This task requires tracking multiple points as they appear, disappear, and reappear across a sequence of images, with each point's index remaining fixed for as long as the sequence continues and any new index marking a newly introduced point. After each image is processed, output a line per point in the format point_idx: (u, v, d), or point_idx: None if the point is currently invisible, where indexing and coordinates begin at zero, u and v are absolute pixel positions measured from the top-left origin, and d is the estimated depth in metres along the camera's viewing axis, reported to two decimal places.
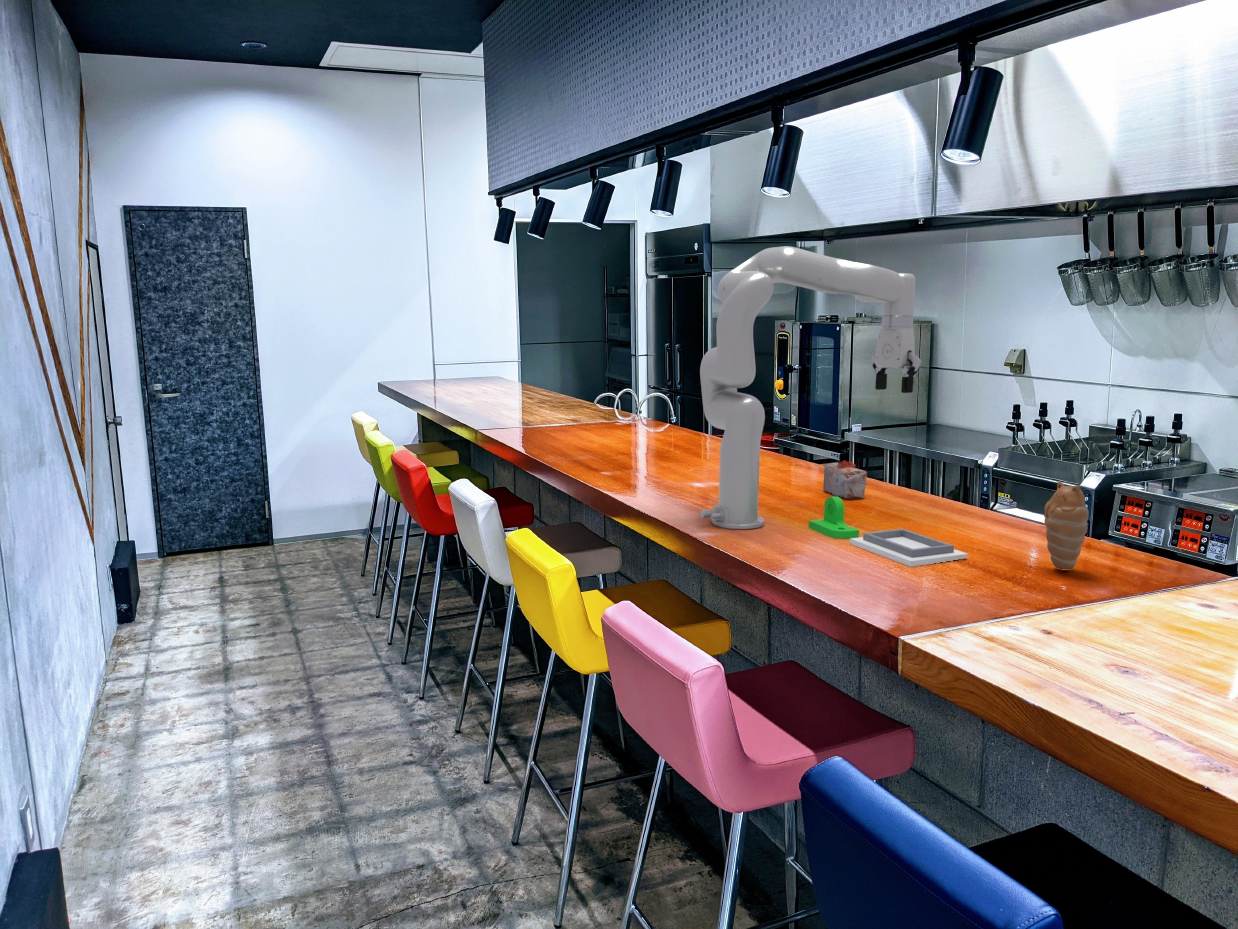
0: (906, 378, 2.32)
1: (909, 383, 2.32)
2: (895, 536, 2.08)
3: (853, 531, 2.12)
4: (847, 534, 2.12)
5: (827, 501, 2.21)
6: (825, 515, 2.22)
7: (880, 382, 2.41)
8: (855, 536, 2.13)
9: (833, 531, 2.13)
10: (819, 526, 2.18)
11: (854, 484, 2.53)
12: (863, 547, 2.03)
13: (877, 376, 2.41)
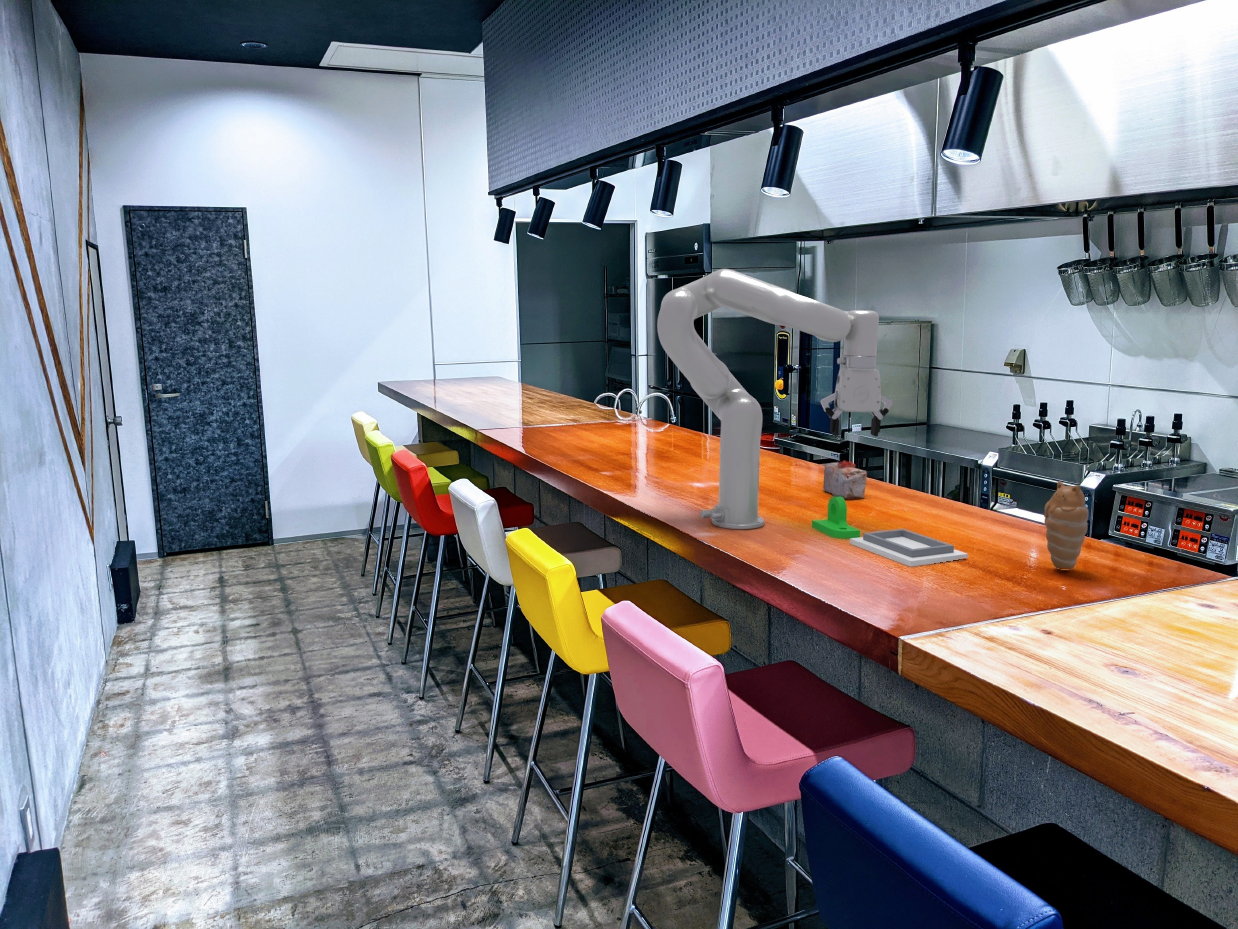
0: (878, 421, 2.21)
1: None
2: (895, 536, 2.08)
3: (854, 531, 2.12)
4: (848, 534, 2.12)
5: (830, 501, 2.21)
6: (829, 515, 2.23)
7: None
8: (856, 536, 2.13)
9: (834, 531, 2.13)
10: (821, 526, 2.18)
11: (854, 484, 2.53)
12: (863, 547, 2.03)
13: (838, 421, 2.19)
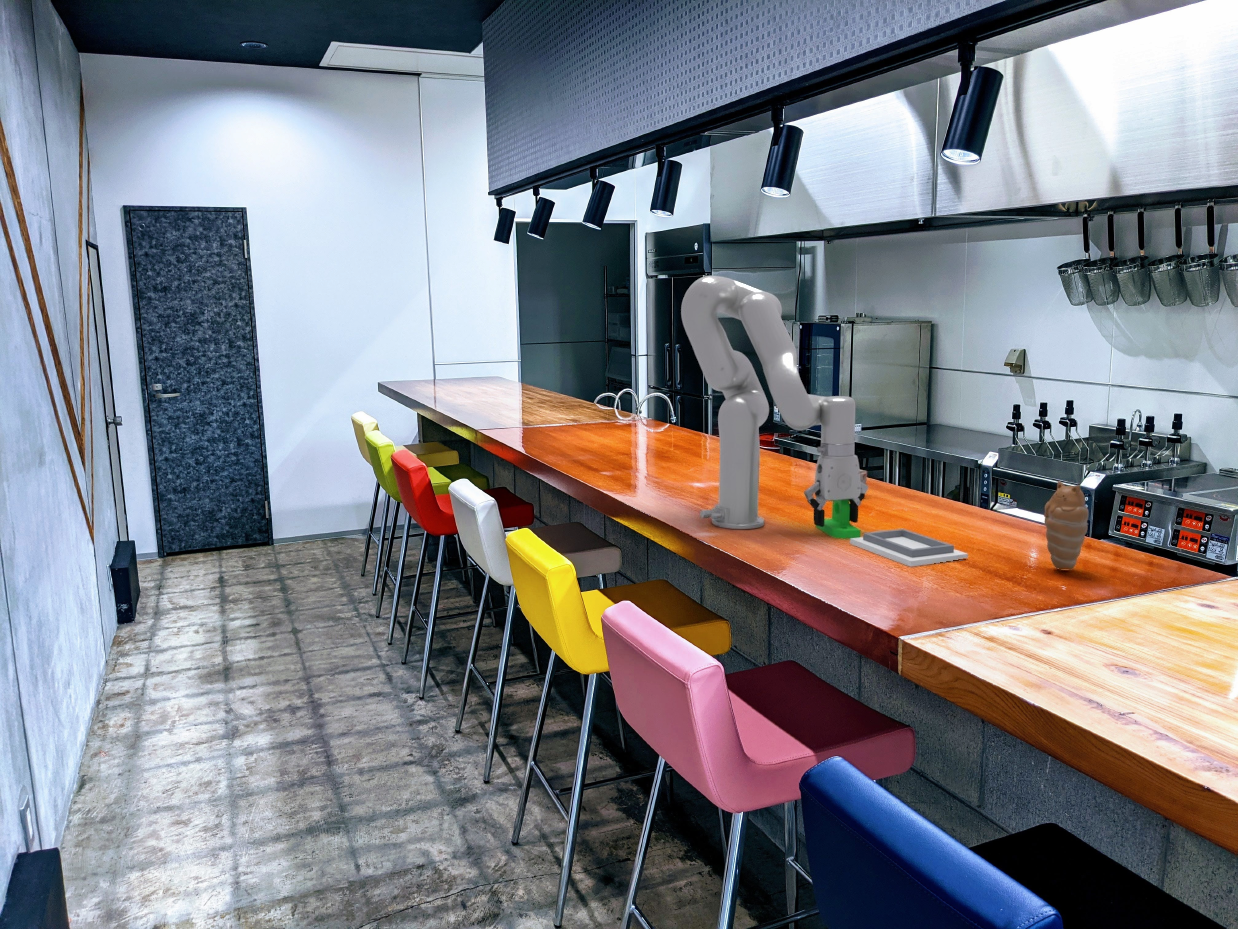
0: None
1: None
2: (895, 536, 2.08)
3: (854, 531, 2.12)
4: (848, 533, 2.12)
5: (834, 501, 2.22)
6: (833, 514, 2.23)
7: None
8: (856, 536, 2.12)
9: (834, 530, 2.13)
10: None
11: None
12: (863, 547, 2.03)
13: (823, 512, 2.13)
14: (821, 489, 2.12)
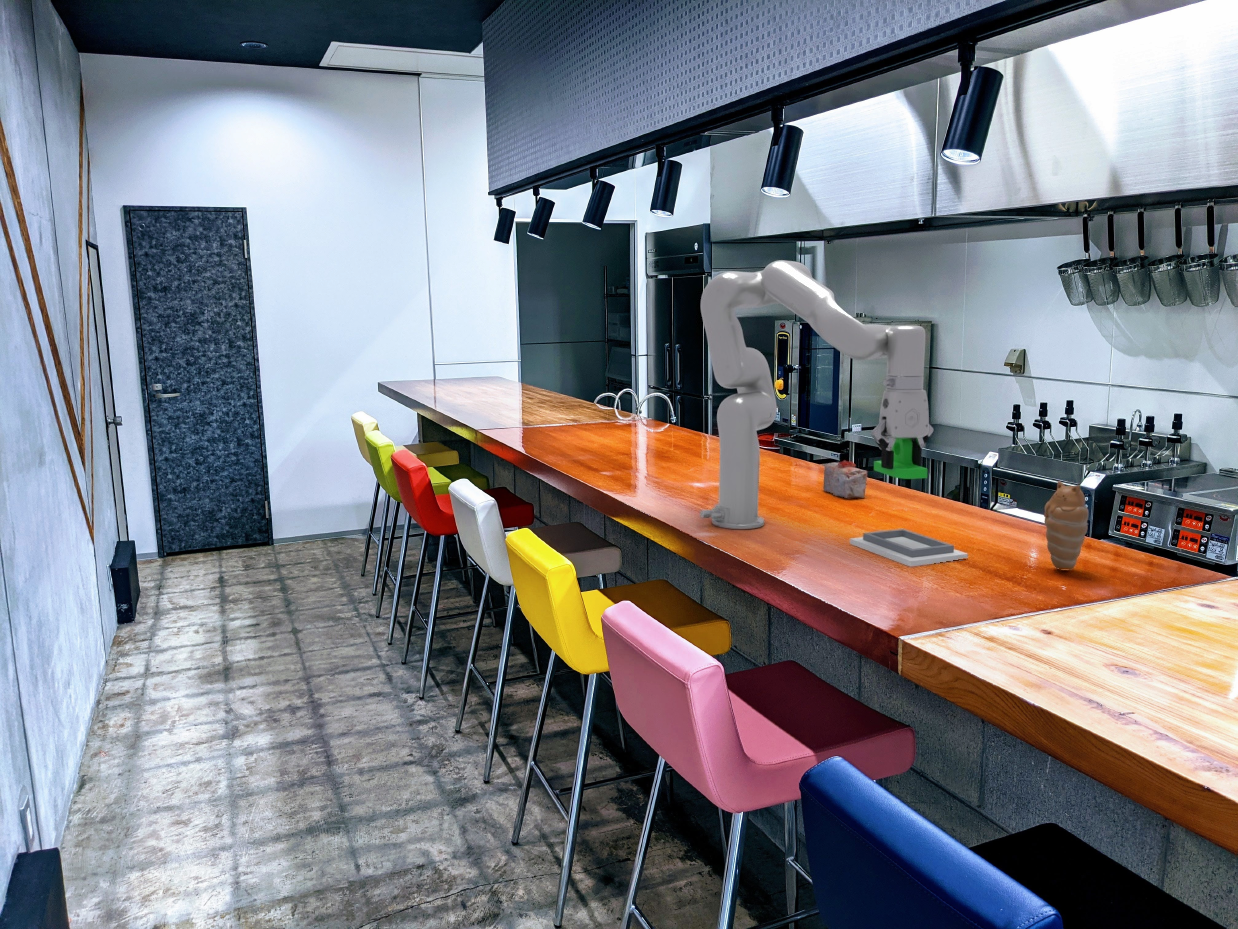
0: None
1: None
2: (895, 536, 2.08)
3: (920, 469, 1.95)
4: (914, 472, 1.95)
5: None
6: None
7: None
8: (923, 475, 1.96)
9: (898, 469, 1.96)
10: None
11: (855, 484, 2.53)
12: (863, 547, 2.03)
13: (893, 453, 1.97)
14: (887, 425, 1.96)
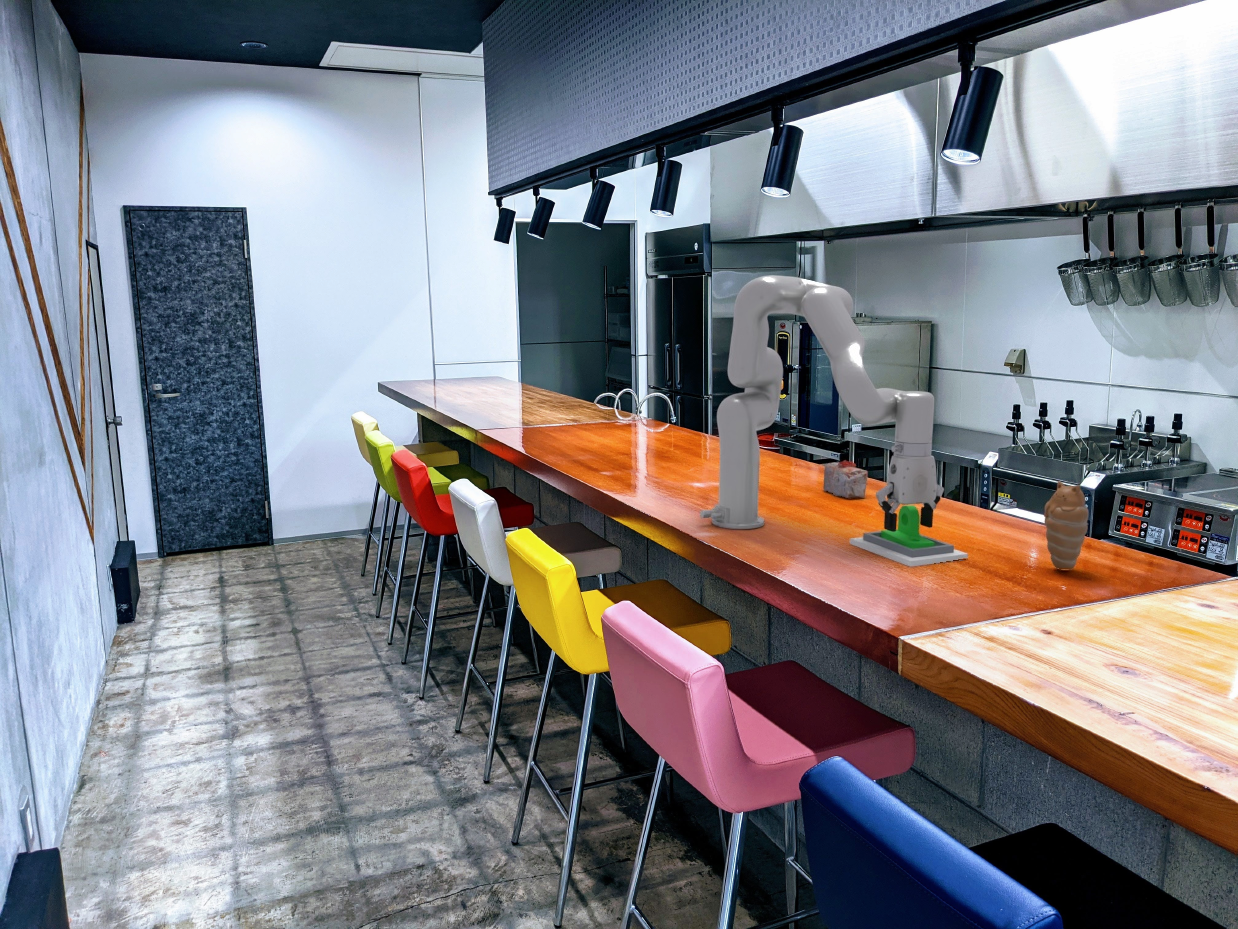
0: None
1: None
2: None
3: (928, 543, 1.96)
4: (921, 546, 1.96)
5: (901, 510, 2.05)
6: (899, 525, 2.06)
7: None
8: None
9: (905, 543, 1.97)
10: (891, 537, 2.02)
11: (855, 484, 2.54)
12: (863, 547, 2.03)
13: (896, 516, 1.97)
14: (895, 491, 1.96)
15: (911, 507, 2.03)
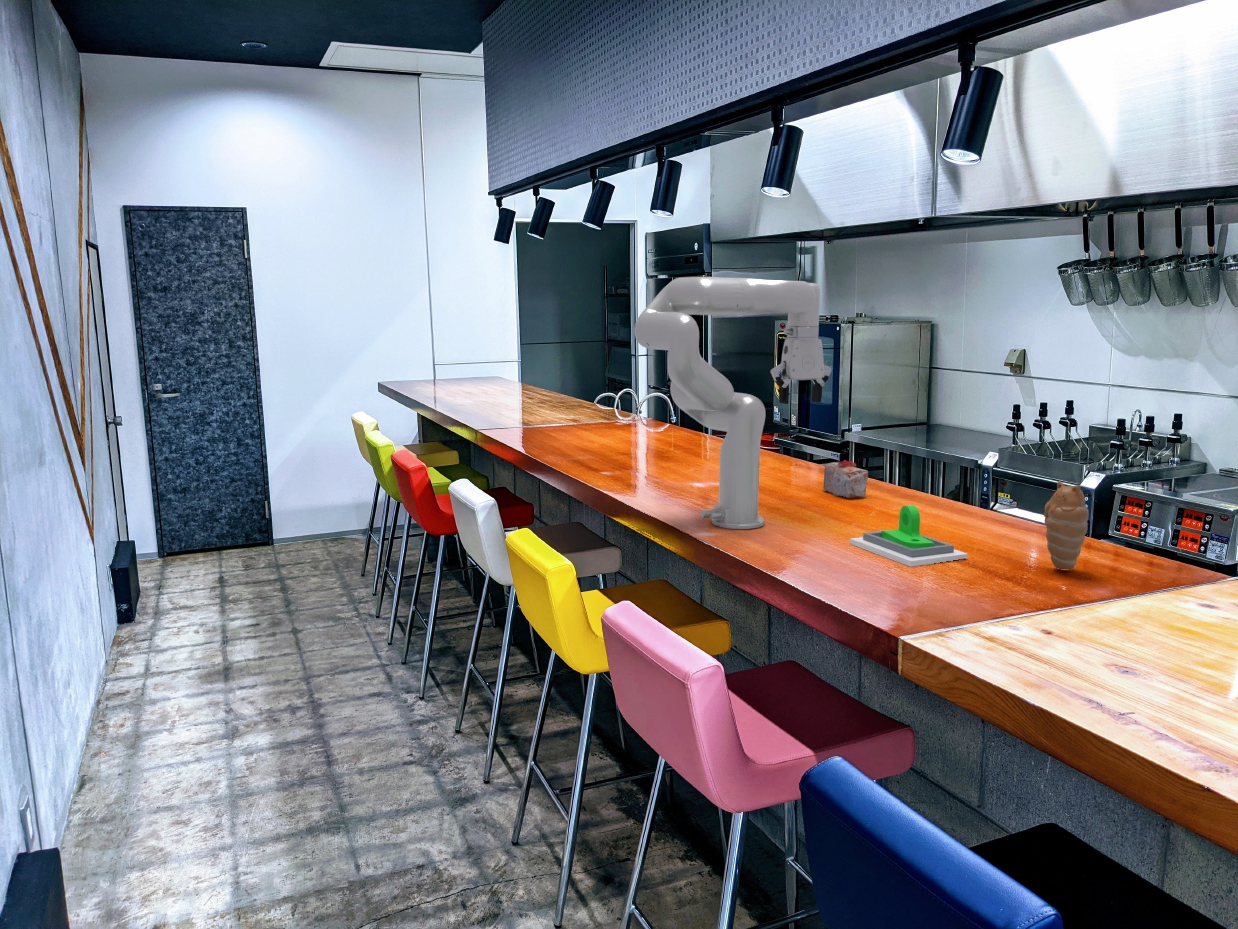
0: None
1: None
2: None
3: (927, 543, 1.96)
4: (920, 546, 1.96)
5: (902, 510, 2.05)
6: (900, 525, 2.06)
7: None
8: None
9: (905, 543, 1.97)
10: (891, 537, 2.02)
11: (856, 483, 2.54)
12: (863, 547, 2.03)
13: (788, 390, 2.30)
14: (786, 368, 2.29)
15: (912, 507, 2.03)
